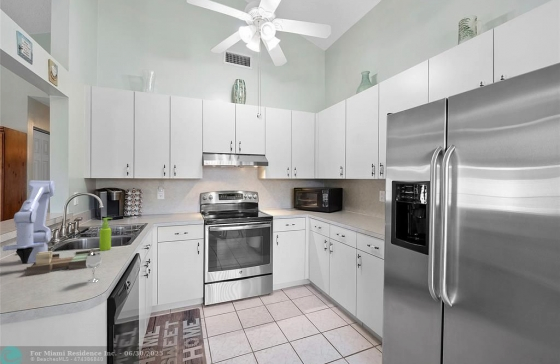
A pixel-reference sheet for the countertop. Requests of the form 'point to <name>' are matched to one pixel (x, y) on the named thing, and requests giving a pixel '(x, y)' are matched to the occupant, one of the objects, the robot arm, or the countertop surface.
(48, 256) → the maple block
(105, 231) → the soap dispenser
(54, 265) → the track
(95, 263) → the wineglass
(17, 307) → the countertop surface
